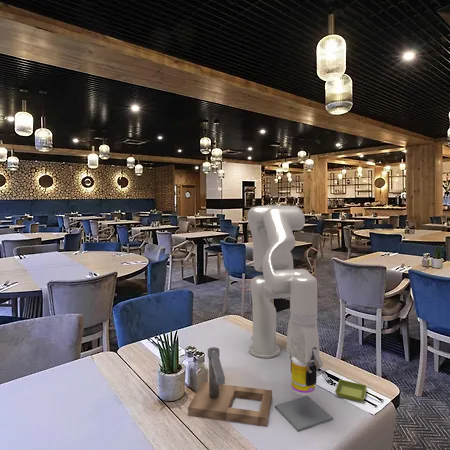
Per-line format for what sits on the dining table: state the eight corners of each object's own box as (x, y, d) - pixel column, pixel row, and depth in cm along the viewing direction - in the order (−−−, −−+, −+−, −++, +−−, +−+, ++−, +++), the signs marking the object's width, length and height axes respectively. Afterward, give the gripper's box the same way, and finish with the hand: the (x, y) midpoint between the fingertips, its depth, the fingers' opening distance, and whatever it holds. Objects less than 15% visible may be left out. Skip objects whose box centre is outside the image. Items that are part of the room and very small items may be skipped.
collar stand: (188, 415, 100) (187, 365, 99) (202, 389, 114) (201, 345, 113) (266, 426, 95) (266, 374, 94) (272, 397, 108) (272, 352, 107)
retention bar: (207, 354, 106) (207, 347, 106) (218, 353, 107) (218, 346, 106) (214, 385, 88) (213, 377, 88) (227, 383, 89) (227, 376, 89)
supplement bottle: (310, 399, 95) (310, 354, 94) (288, 392, 99) (288, 349, 98) (317, 387, 101) (318, 345, 100) (296, 381, 105) (296, 340, 104)
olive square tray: (339, 384, 116) (339, 378, 116) (367, 391, 112) (367, 385, 112) (334, 398, 109) (334, 391, 108) (364, 405, 105) (364, 399, 104)
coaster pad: (274, 407, 104) (274, 405, 104) (307, 397, 108) (307, 395, 108) (297, 431, 93) (297, 429, 93) (333, 419, 97) (333, 417, 97)
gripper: (276, 311, 105) (276, 367, 106) (311, 330, 89) (311, 397, 90) (296, 307, 108) (296, 362, 109) (334, 326, 92) (333, 390, 93)
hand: (303, 377), depth 100 cm, fingers closed on supplement bottle, 6 cm apart
